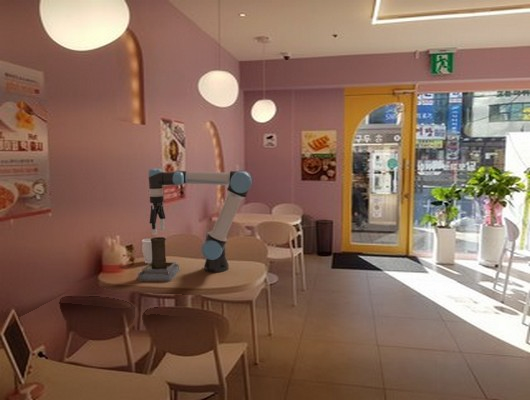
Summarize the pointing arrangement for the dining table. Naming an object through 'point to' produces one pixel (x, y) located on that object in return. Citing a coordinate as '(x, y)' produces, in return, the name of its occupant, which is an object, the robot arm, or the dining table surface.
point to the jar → (147, 250)
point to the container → (158, 253)
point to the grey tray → (159, 273)
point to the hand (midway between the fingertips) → (158, 232)
